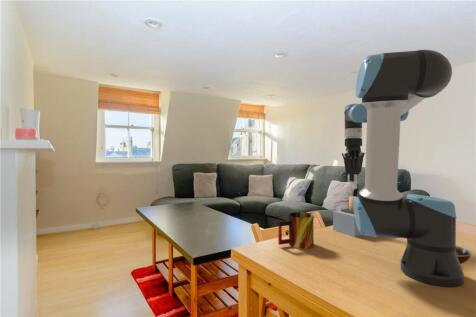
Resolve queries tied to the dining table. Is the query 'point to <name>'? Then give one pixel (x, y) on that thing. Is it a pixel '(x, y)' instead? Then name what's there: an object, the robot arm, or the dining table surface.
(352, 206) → the peg
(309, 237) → the mug
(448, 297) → the dining table surface
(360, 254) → the dining table surface
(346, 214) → the socket block
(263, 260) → the dining table surface
